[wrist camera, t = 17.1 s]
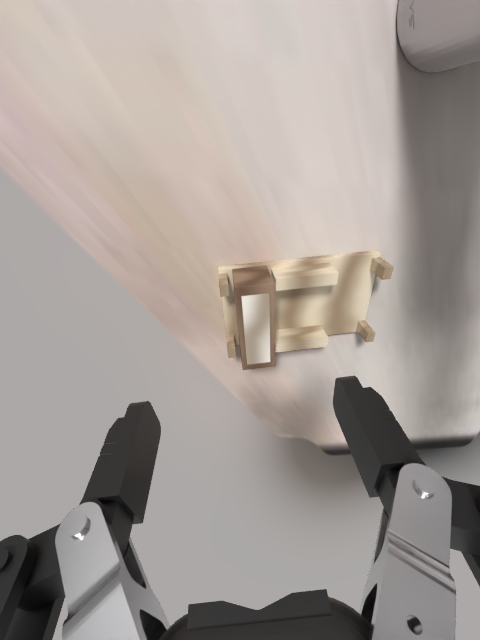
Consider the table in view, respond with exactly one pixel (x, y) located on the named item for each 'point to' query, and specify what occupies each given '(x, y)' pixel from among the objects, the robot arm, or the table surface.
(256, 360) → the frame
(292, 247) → the table surface
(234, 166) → the table surface
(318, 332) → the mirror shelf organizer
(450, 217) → the table surface
